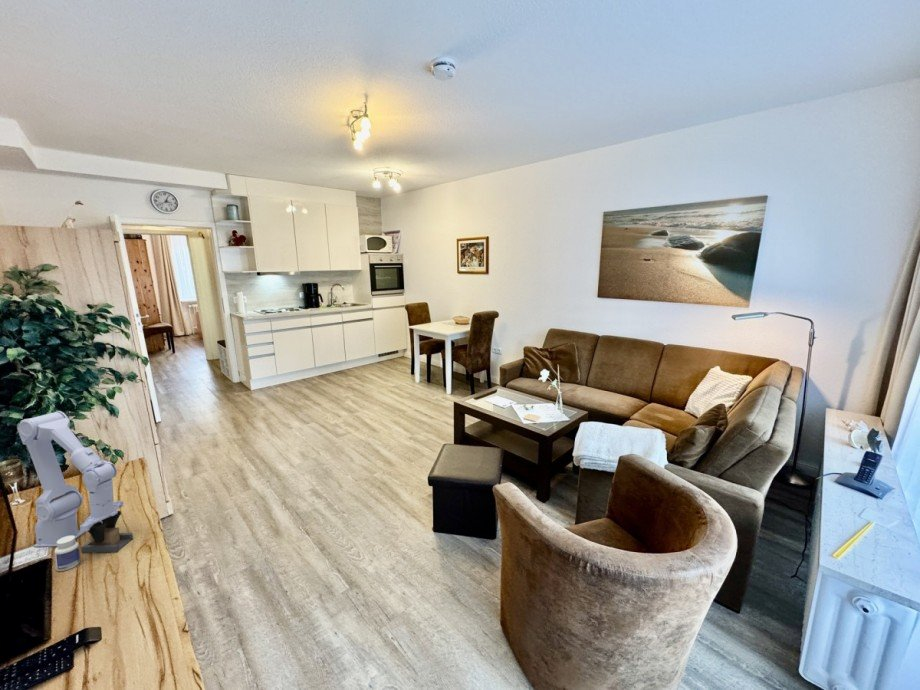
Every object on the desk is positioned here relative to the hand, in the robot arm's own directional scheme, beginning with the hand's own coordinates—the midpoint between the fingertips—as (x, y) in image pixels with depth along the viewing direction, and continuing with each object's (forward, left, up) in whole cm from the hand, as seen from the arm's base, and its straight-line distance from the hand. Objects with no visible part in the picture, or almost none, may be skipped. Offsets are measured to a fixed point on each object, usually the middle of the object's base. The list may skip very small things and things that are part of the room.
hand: (104, 538), depth 124 cm
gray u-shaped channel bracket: (+1, 0, -3) cm, 3 cm away
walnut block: (0, 0, -2) cm, 2 cm away
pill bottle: (-4, -9, -3) cm, 10 cm away
